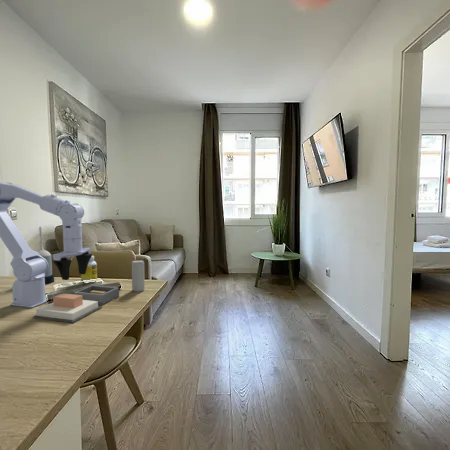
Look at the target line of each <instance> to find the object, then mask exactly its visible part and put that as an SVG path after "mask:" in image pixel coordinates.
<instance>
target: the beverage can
mask: <svg viewBox="0 0 450 450" xmlns="http://www.w3.org/2000/svg"><path fill="white" fill-rule="evenodd" d="M145 283H146V281H145V261H144V260H142V259H140V260H139V259H138V260H137V259H136V260H133V261H131V287H132V288H131V290H132V291H133V292H134V293H141V292H143V291H144V290H145V288H146V287H145Z"/></svg>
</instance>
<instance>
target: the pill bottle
mask: <svg viewBox="0 0 450 450" xmlns="http://www.w3.org/2000/svg"><path fill="white" fill-rule="evenodd" d="M97 266H98V263H97V261H95V255H92V257H91V259H90V260H89V263H88V266H87V269H86V273H85V274H80V279H81V280H80V282H81V281H83V280H90V279H97V280H98V267H97Z"/></svg>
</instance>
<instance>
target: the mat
mask: <svg viewBox="0 0 450 450" xmlns="http://www.w3.org/2000/svg"><path fill="white" fill-rule="evenodd" d="M102 308H103V307H102V306H101V305H98V307H97V308H96V309H94V310H92V311H90V312H88V313H86V314H84V315H82V316H80V317H78V318H76V319H75V320H67V319H59V318H51V317H44V316H36V314H35V315H33V316H32V318H33V319H39V320H46V321H53V322H63V323H69V324H75V323H77V322H79V321H80V320H83V319H85V318H86V317H88V316H90V315H92V314H94V313H95V312H97V311H99V310H101V309H102Z"/></svg>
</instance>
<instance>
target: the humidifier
mask: <svg viewBox="0 0 450 450" xmlns="http://www.w3.org/2000/svg"><path fill="white" fill-rule="evenodd" d="M38 230H39V237H40V239H39V248H40V249H39V250H38V251H36V252H38V253H39V254H40V256H41V257H43V258H44V259H46V260H47V262H48V265H49V267H48V270H47V271H46V272H45V286H47V285H50V284H52V283H55V275H54V274H53V263H52V261H53V260H52V254H51V253H50V252H49V251H48V250H46V249H47V248H45V249H44V246H43V239H44V238H43V232H42V226H39V228H38Z"/></svg>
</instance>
